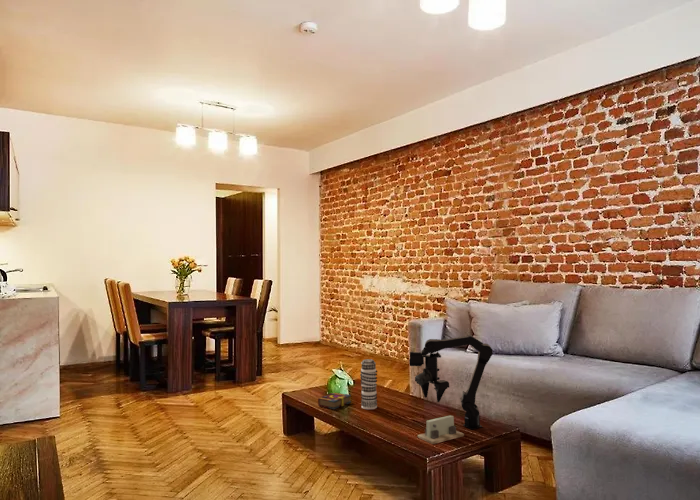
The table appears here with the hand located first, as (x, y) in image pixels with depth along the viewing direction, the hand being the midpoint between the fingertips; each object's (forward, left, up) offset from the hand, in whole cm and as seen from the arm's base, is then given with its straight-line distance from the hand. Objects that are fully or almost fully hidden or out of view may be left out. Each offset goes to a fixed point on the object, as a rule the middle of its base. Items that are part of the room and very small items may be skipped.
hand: (432, 399), depth 238 cm
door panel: (+7, +14, -11) cm, 19 cm away
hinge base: (+7, +14, -12) cm, 20 cm away
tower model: (+9, -41, -12) cm, 44 cm away
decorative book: (+21, -56, -12) cm, 62 cm away
